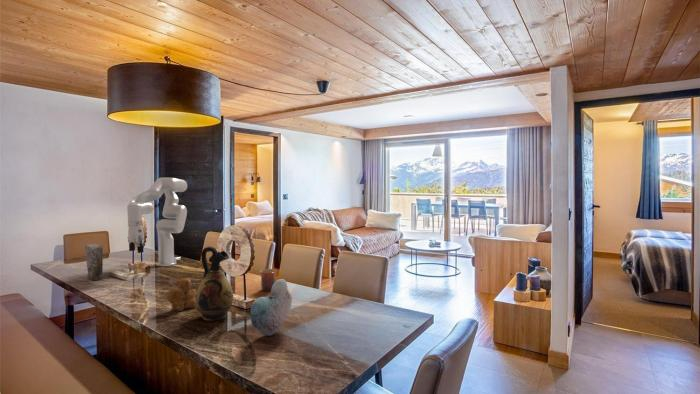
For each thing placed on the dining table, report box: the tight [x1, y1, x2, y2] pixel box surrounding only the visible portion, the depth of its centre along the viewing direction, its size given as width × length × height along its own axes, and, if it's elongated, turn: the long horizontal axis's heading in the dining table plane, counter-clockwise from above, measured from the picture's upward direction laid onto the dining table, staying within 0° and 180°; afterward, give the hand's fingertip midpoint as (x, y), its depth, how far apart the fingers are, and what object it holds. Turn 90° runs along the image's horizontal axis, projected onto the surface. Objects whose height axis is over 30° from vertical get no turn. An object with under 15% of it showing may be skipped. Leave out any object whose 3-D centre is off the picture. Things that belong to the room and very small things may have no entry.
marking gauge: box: [127, 261, 146, 274], centre depth 219 cm, size 9×4×6 cm, turn 147°
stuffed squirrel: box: [165, 277, 197, 312], centre depth 164 cm, size 10×14×13 cm
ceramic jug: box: [194, 245, 234, 322], centre depth 154 cm, size 17×15×30 cm
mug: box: [259, 268, 277, 292], centre depth 194 cm, size 12×9×10 cm
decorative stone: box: [250, 278, 293, 337], centre depth 136 cm, size 21×9×20 cm, turn 151°
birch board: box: [108, 267, 147, 281], centre depth 221 cm, size 11×22×2 cm, turn 57°
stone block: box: [85, 243, 104, 282], centre depth 214 cm, size 13×7×20 cm, turn 54°
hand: (136, 251), depth 219 cm, fingers open, 9 cm apart
